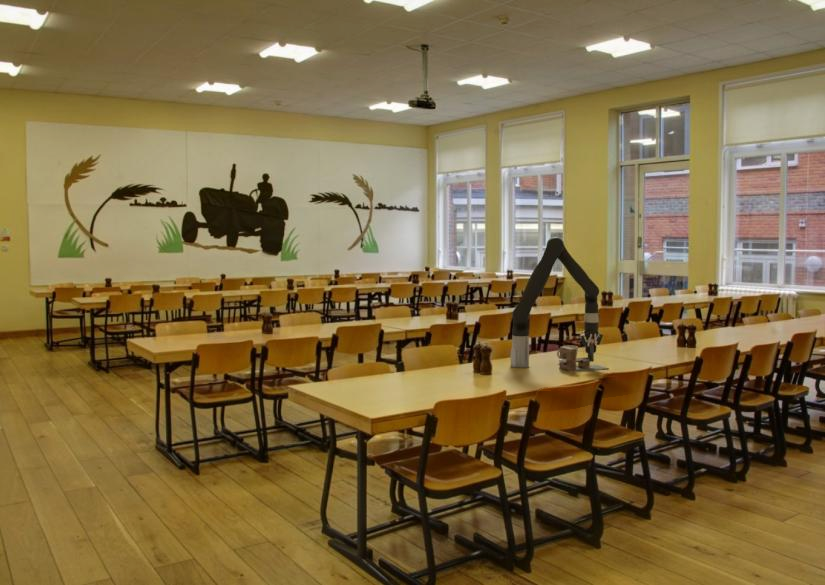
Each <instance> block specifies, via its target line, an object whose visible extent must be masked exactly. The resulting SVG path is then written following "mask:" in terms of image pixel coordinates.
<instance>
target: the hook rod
mask: <svg viewBox="0 0 825 585" xmlns="http://www.w3.org/2000/svg"><path fill="white" fill-rule="evenodd" d="M594 342H595V341H594V339H591V342H590V344H589V353H587V356H586V357H576V363H578V362H582V360H590V363H591V362H595V361H594V360H595V359H594V357H595V356H594V355H595V353H594ZM558 363H559V364H560V363H566V359H559V360H558Z"/></svg>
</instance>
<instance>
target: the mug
mask: <svg viewBox="0 0 825 585" xmlns="http://www.w3.org/2000/svg"><path fill="white" fill-rule="evenodd" d="M564 346H567V347H571V348H574V349H576V358H578V357H577V356H578V350H579V349H578V348H579V346H578V345H573V344H571V345H569V344H567V345H566V344H565V345H562V347H564ZM556 356H557V358H558V359H559V360H560V348H559V349H557V351H556Z"/></svg>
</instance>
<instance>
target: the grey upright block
mask: <svg viewBox="0 0 825 585" xmlns="http://www.w3.org/2000/svg"><path fill="white" fill-rule="evenodd" d="M563 346H564V347H563ZM563 346H560V347H559V349H560V352H559V356H560V359H566V363H560V362H559V367H560V370H563V371H566V370H567V371H566V372H569V371H572V370H576V366H577V362H576V358H577V357H576V349H574V348H571V347H567V346H565V345H563ZM560 359H559V360H560ZM562 368H563V369H562ZM569 373H570V372H569Z"/></svg>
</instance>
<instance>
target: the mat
mask: <svg viewBox="0 0 825 585" xmlns="http://www.w3.org/2000/svg"><path fill="white" fill-rule="evenodd" d="M558 369H560V366H559V367H558ZM562 369H563V368H562ZM562 369H560V370H562ZM602 370H603V371H604V370H606V371H607V370H610V368H609V367H606V366H603V365H599V364H590V368H587V369H582V368H579V367H578V365H576V370H572V371H569V373H572V372H573V373H574V372H588V371H602ZM566 372H568V371H567V370H566Z"/></svg>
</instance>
